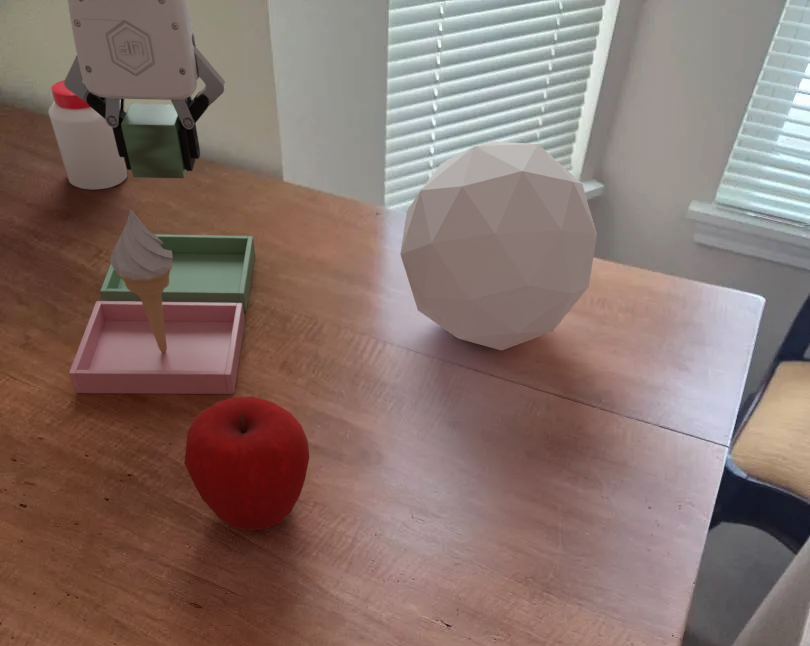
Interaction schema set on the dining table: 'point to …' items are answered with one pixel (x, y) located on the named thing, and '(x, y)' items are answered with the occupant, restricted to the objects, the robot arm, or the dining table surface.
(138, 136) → the green block
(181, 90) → the robot arm
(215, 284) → the green tray
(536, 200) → the ball
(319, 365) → the dining table surface
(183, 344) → the pink tray
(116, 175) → the pill bottle
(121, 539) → the dining table surface
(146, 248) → the ice cream cone
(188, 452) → the apple
